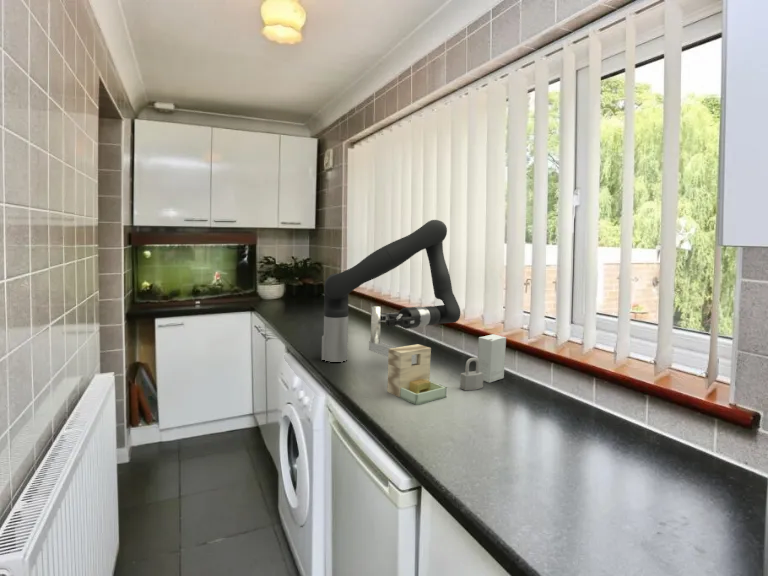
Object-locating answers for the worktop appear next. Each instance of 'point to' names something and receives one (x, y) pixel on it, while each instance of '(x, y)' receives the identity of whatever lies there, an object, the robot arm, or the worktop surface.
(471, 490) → the worktop surface
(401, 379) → the bearing block
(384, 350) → the crank handle
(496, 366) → the skincare box
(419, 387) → the spacer
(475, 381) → the padlock
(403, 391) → the tray
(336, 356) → the robot arm
